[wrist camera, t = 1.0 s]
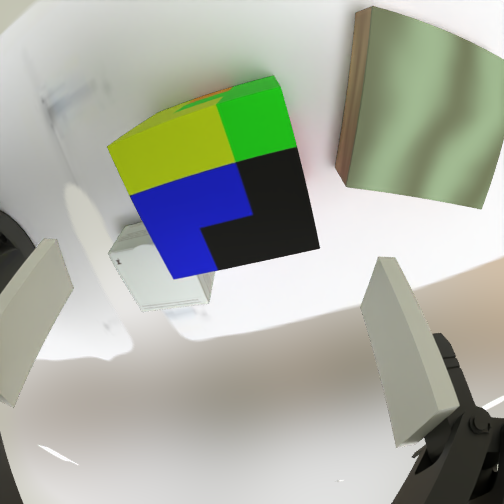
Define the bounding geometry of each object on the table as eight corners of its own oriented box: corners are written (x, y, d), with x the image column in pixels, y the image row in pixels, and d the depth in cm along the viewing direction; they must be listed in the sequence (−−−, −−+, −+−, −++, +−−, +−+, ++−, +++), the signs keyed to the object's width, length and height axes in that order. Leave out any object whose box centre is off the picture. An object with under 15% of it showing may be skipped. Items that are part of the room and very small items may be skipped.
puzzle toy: (198, 210, 29) (173, 279, 21) (158, 112, 24) (106, 146, 16) (302, 184, 27) (319, 248, 19) (273, 75, 22) (280, 86, 14)
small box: (152, 281, 35) (140, 313, 31) (124, 224, 31) (105, 253, 26) (216, 272, 34) (210, 305, 30) (193, 208, 29) (181, 237, 25)
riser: (334, 167, 26) (346, 187, 23) (355, 12, 18) (372, 6, 15) (460, 189, 26) (481, 209, 23) (489, 61, 18) (517, 67, 15)
